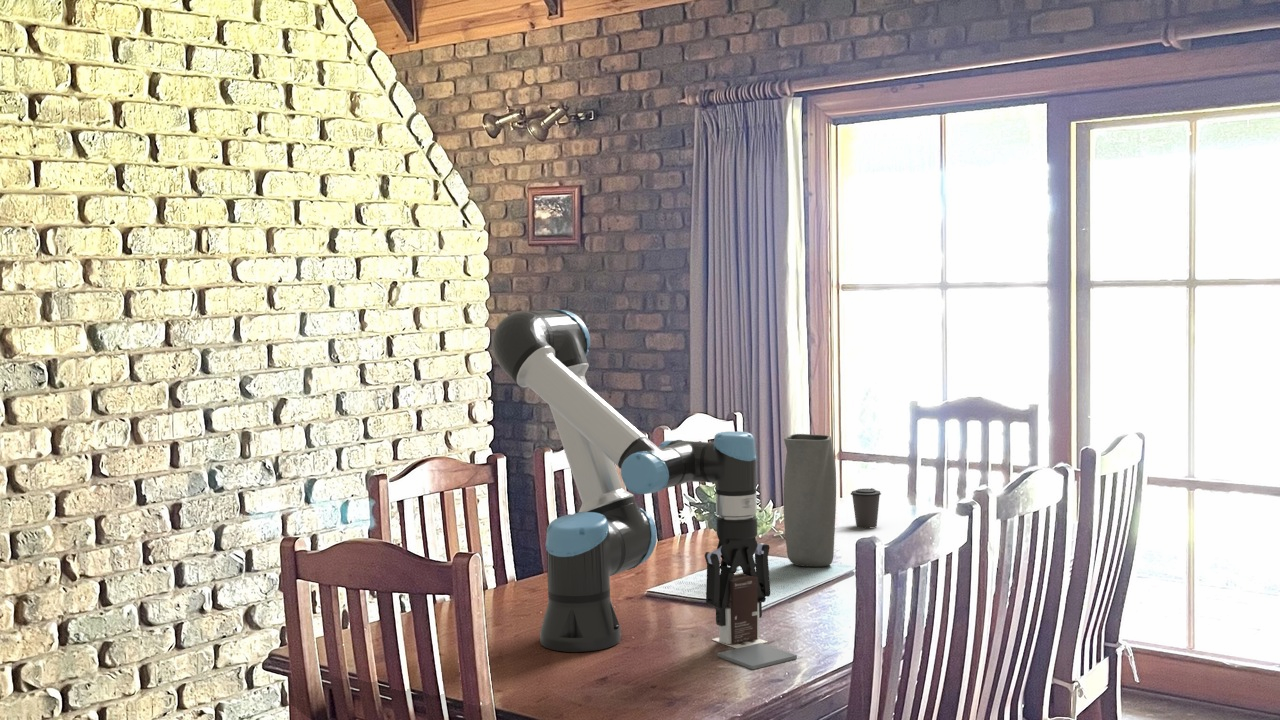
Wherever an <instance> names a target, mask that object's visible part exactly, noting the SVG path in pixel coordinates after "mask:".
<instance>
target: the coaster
mask: <svg viewBox="0 0 1280 720" xmlns="http://www.w3.org/2000/svg"><path fill="white" fill-rule="evenodd" d="M716 654H717V656H716V657H719V658H721V659H723V660H727V661H729V662H731V663H734V664H737V665H740V666H742V667H745V668H748V669H751V670H757V669H761V668H764V667H768V666H772V665H777V664H780V663H781V664H782V663H784V662H789V661H793V660H797V659H798V655H796V654H794V653H791V652H789V651H785V650H783V649H779V648H777V647H773V646H771V645H769V644H766V643H758V644H754V645H750V646H745V647H741V648H737V649H736V648H734V649H729V650H724V651H721V652H717V653H716Z"/></svg>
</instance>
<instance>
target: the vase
mask: <svg viewBox="0 0 1280 720" xmlns="http://www.w3.org/2000/svg"><path fill="white" fill-rule="evenodd" d="M783 441H784V444H785V448H786V456H785V463H784V464H785V466H784V474H783V501H782V502H783V522H784V524H783V525H784V535H785V536H784V537H785V545H786V554H787V558H788V560H789V561H790V562H791V563H792V564H793V565H795V566H799V567H807V568H809V567H814V568H815V567H816V568H821V567H828V566H830V565H831V564H832V563H833V561H834V555H835V552H834V551H835V536H836V535H835V531H836V514H837V513H836V511H837V470H836V469H837V468H836V460H835V452H834V447H833V441H832V437H831V435H827V434H808V433H805V434H804V433H793V434H790V435H789V436H785V437H784V438H783Z"/></svg>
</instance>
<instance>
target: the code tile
mask: <svg viewBox="0 0 1280 720" xmlns="http://www.w3.org/2000/svg"><path fill="white" fill-rule="evenodd" d="M711 641H713V642H717V643H719V644H722V645H726V646H728V647H730V648H734V649H737V648H741V647H745V646H750V645H754V644H758V643H763V644H766V643H769V641H767V640H765V639H762V638H760V637H758V638H757V639H756V640H750V641H746V642H741V643H737V644H726V643H723V642H720V641H719V636H718V637H714V638H711Z"/></svg>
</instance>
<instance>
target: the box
mask: <svg viewBox="0 0 1280 720" xmlns="http://www.w3.org/2000/svg"><path fill="white" fill-rule="evenodd" d="M757 601H758V577H756V576H749V575H746V574H743V572H742V573H741V572H740V573H734V576H733V580H730V595H729V599H728V604H727V608H730V609H731V644H737V643H741V642H746V641H750V640H756V639H757Z"/></svg>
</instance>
